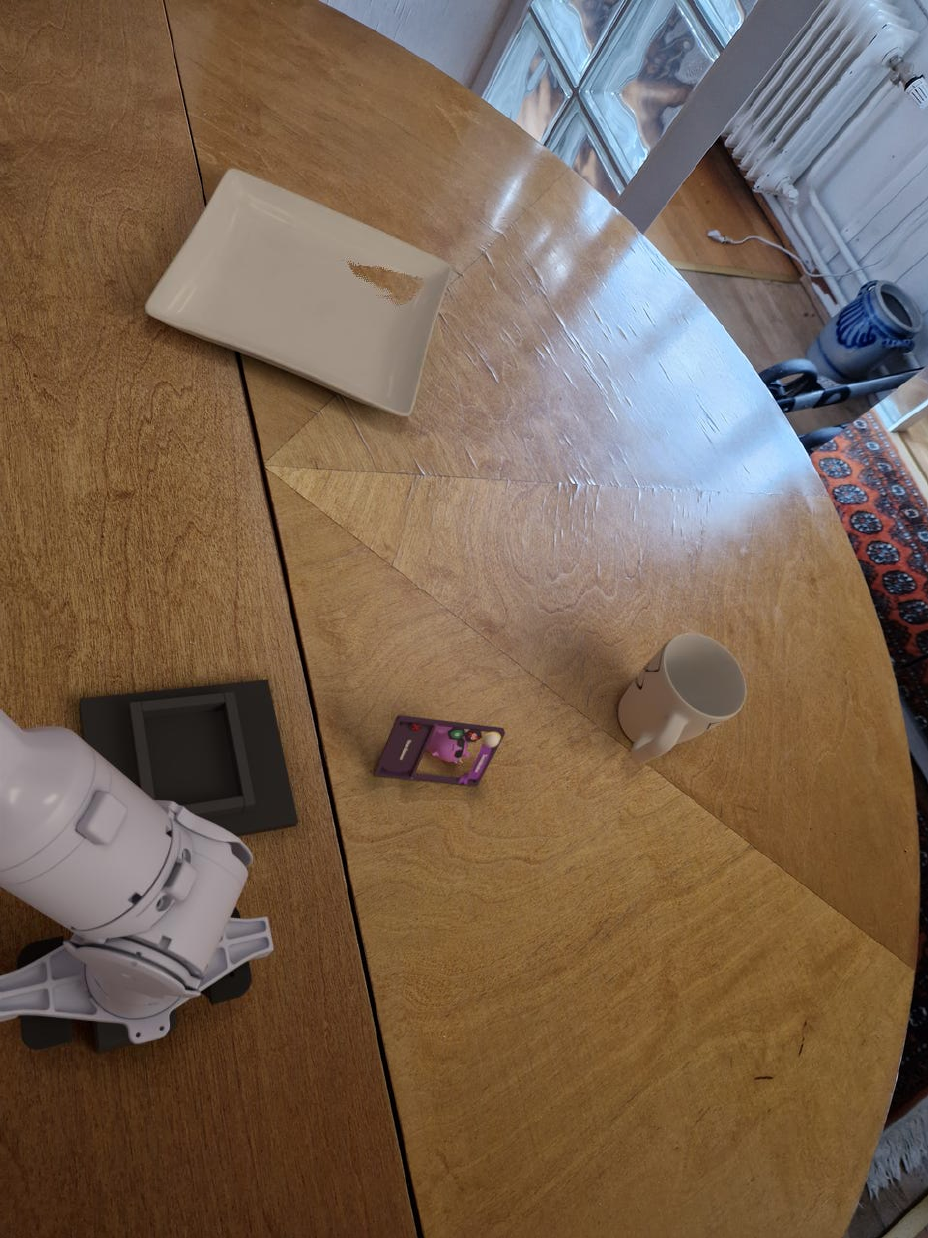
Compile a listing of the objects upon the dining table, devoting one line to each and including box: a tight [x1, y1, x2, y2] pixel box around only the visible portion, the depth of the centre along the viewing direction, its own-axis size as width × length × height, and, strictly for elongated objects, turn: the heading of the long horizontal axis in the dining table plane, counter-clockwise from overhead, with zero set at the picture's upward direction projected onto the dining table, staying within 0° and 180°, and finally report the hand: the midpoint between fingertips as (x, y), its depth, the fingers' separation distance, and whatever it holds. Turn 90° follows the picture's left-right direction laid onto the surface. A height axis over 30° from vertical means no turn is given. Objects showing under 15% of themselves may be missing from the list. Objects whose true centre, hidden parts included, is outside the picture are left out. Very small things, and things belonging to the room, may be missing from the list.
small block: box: [92, 1008, 178, 1055], centre depth 56 cm, size 4×6×4 cm
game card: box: [374, 714, 506, 787], centre depth 73 cm, size 7×5×9 cm
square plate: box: [144, 167, 453, 417], centre depth 95 cm, size 27×27×4 cm
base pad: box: [78, 679, 299, 838], centre depth 66 cm, size 14×12×2 cm
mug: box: [617, 631, 747, 765], centre depth 80 cm, size 11×8×10 cm
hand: (130, 991), depth 57 cm, fingers open, 7 cm apart
